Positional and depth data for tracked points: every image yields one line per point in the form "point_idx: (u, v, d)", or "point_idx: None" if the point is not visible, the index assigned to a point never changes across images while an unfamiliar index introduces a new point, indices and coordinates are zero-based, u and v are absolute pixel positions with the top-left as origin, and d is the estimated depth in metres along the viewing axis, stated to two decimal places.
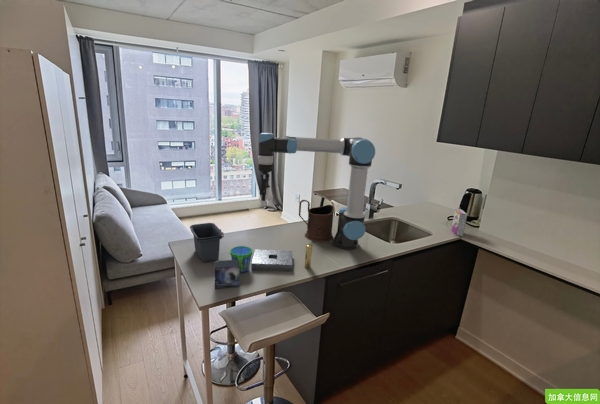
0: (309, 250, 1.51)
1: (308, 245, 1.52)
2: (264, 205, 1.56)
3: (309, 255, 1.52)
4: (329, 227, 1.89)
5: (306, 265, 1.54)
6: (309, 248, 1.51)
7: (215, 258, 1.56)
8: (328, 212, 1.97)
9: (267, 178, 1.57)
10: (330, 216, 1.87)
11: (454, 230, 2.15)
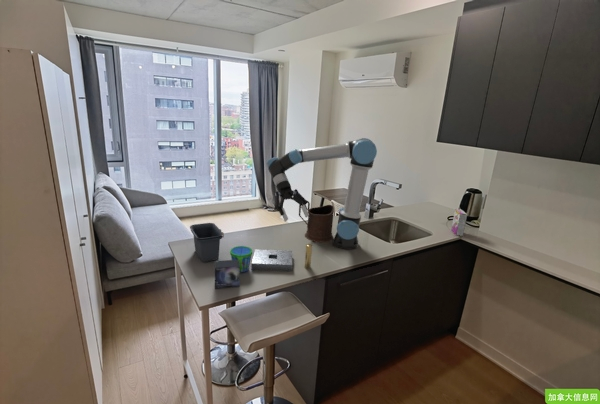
0: (309, 250, 1.51)
1: (308, 245, 1.52)
2: (286, 219, 1.52)
3: (309, 255, 1.52)
4: (329, 227, 1.89)
5: (306, 265, 1.54)
6: (309, 248, 1.51)
7: (215, 258, 1.56)
8: (328, 212, 1.97)
9: (284, 194, 1.59)
10: (330, 216, 1.87)
11: (454, 230, 2.15)
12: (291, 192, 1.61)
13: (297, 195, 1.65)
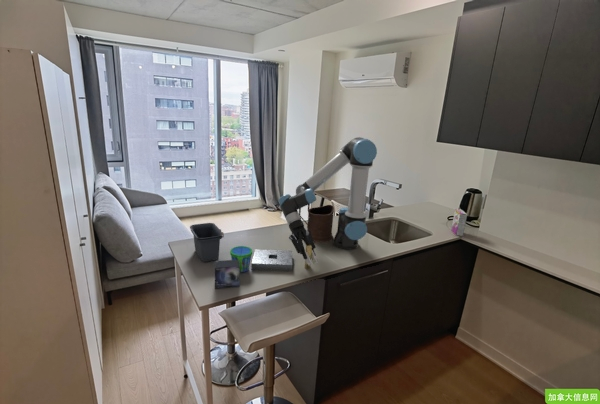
0: (309, 250, 1.51)
1: (308, 245, 1.52)
2: (309, 263, 1.50)
3: (309, 255, 1.52)
4: (329, 227, 1.89)
5: (306, 265, 1.54)
6: (309, 248, 1.51)
7: (215, 258, 1.56)
8: (328, 212, 1.97)
9: (298, 235, 1.54)
10: (330, 216, 1.87)
11: (454, 230, 2.15)
12: (304, 232, 1.56)
13: (308, 236, 1.59)
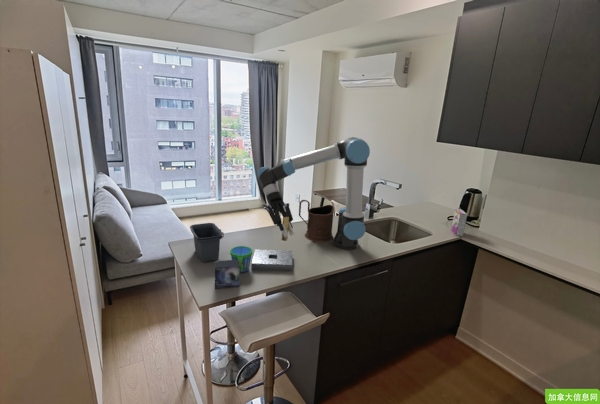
0: (286, 221, 1.49)
1: (285, 216, 1.49)
2: (285, 234, 1.47)
3: (286, 227, 1.49)
4: (329, 227, 1.89)
5: (283, 237, 1.51)
6: (286, 219, 1.48)
7: (215, 258, 1.56)
8: (328, 212, 1.97)
9: (275, 207, 1.52)
10: (330, 216, 1.87)
11: (454, 230, 2.15)
12: (281, 204, 1.54)
13: (286, 209, 1.56)
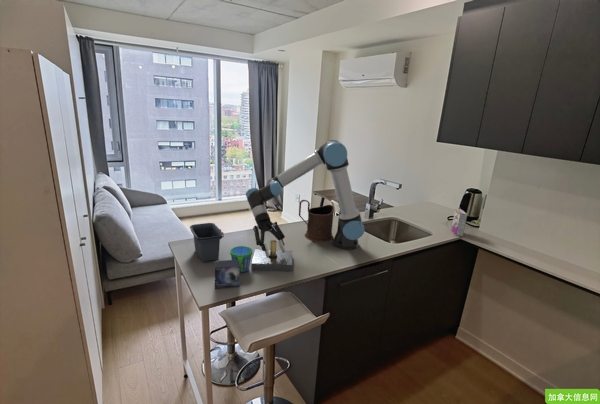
0: (273, 246, 1.53)
1: (272, 241, 1.54)
2: (267, 255, 1.50)
3: (273, 251, 1.54)
4: (329, 227, 1.89)
5: None
6: (273, 244, 1.53)
7: (215, 258, 1.56)
8: (328, 212, 1.97)
9: (263, 227, 1.56)
10: (330, 216, 1.87)
11: (454, 230, 2.15)
12: (270, 224, 1.58)
13: (276, 228, 1.61)
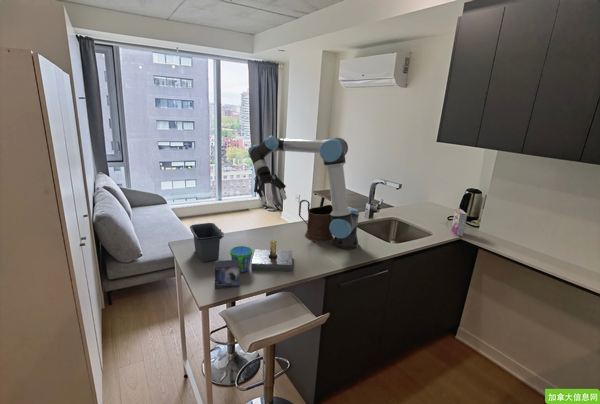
0: (273, 246, 1.53)
1: (272, 241, 1.54)
2: (264, 200, 1.66)
3: (273, 251, 1.54)
4: None
5: None
6: (273, 244, 1.53)
7: (215, 258, 1.56)
8: (328, 212, 1.97)
9: (263, 178, 1.72)
10: (330, 216, 1.87)
11: (454, 230, 2.15)
12: (270, 177, 1.75)
13: (276, 180, 1.78)
